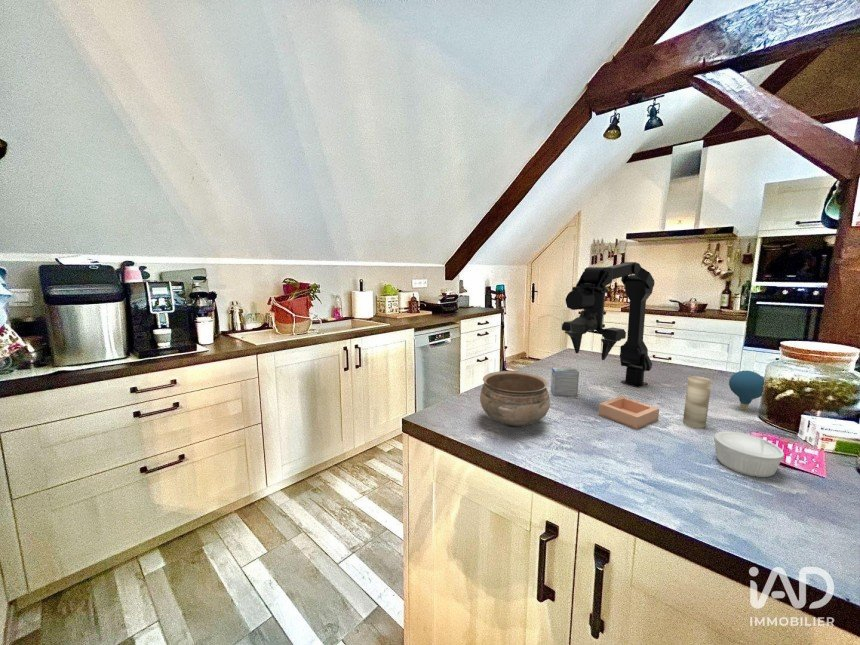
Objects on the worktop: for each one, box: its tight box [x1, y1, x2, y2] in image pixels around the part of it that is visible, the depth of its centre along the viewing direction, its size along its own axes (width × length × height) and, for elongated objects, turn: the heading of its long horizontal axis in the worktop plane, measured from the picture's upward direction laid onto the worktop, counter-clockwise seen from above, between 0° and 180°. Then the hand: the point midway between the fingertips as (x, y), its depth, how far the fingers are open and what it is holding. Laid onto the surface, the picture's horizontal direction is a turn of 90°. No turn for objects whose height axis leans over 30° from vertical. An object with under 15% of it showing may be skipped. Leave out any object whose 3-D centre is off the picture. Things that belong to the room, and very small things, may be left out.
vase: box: [682, 375, 713, 430], centre depth 95 cm, size 5×5×13 cm
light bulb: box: [728, 370, 766, 411], centre depth 104 cm, size 8×8×12 cm
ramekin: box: [713, 431, 785, 478], centre depth 76 cm, size 11×11×5 cm
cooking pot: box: [479, 370, 551, 428], centre depth 97 cm, size 25×19×12 cm
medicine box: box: [550, 367, 580, 397], centre depth 118 cm, size 8×4×9 cm, turn 84°
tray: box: [598, 395, 660, 430], centre depth 100 cm, size 11×11×4 cm
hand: (589, 356), depth 111 cm, fingers open, 9 cm apart
